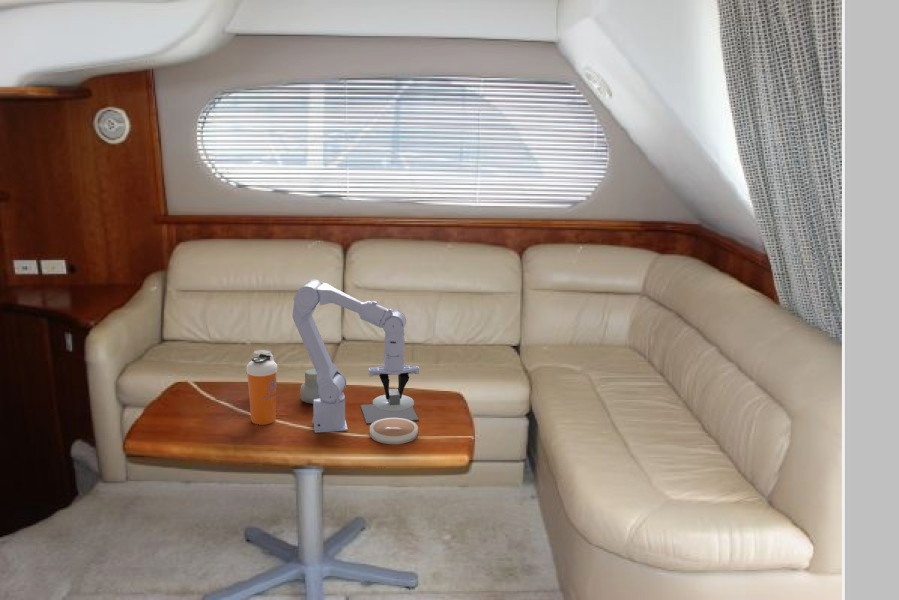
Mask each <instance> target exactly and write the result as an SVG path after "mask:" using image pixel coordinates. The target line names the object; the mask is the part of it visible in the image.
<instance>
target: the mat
mask: <svg viewBox="0 0 899 600" xmlns="http://www.w3.org/2000/svg"><path fill="white" fill-rule="evenodd" d="M360 408H361V412H362V415H363V418H364V421H365V423H366V425H371V424H372V423H373V422H375V421H377V420H380V419H384V418H403V419H408V420H410V421H413V422H417V421H420V420H419V417H418V416H417V413H416V411H415V409H414V406H413V407H412V408H410V409H407V410H404V411H396V412H391V411H383V410H380V409H377V408H375V407H374V406H373V403H371V404H360Z"/></svg>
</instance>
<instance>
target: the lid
mask: <svg viewBox="0 0 899 600" xmlns="http://www.w3.org/2000/svg"><path fill="white" fill-rule="evenodd" d="M372 404H373V406H374V407H375V408H377V409H380V410H383V411H391V412H396V411H404V410H407V409H410V408H412V407H413V408H414V405H415V400H414V399H413V398H412V397H411V396H408V395H404V394H402V398H401V399H400V393H399V391H398V388H389V399H386V395H385V394H382V395H379V396H376V397H375V398H374V399H372Z"/></svg>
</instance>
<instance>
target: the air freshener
mask: <svg viewBox="0 0 899 600" xmlns="http://www.w3.org/2000/svg"><path fill="white" fill-rule="evenodd" d="M318 389H319V388H318V384H317V373H316V370H315V368H310V369H307V370H305V372H304V382H303V383H302V384H301V385H300V391H299V398H300V400H301V401H302V402H304V403H307V404H310V405H311V404H312V405H313V400H314V399H318V398H320V396H319V394H318Z"/></svg>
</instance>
